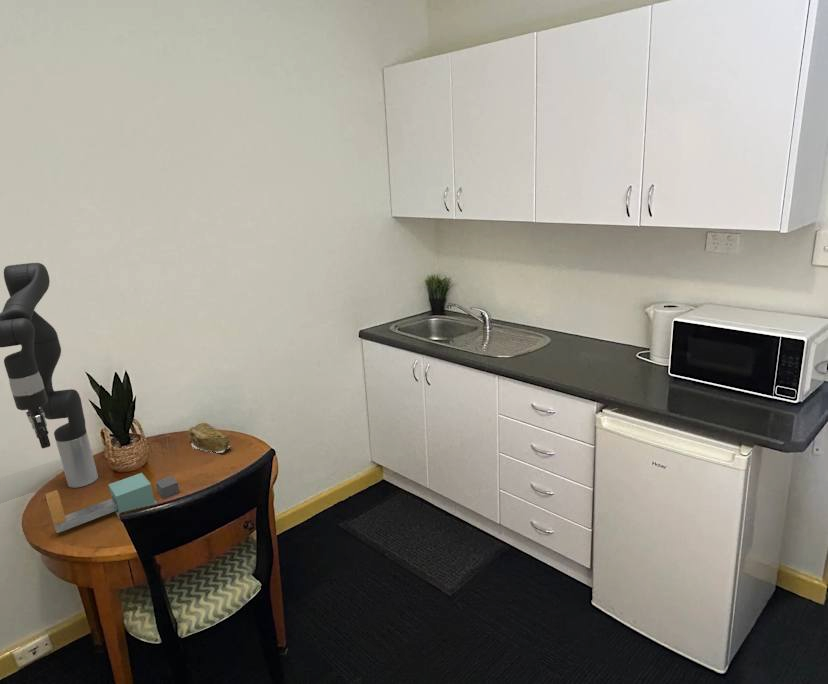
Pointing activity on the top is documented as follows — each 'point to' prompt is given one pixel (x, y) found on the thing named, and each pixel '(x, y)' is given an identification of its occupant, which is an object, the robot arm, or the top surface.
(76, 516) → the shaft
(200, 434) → the stone
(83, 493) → the top surface
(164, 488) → the block
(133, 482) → the block
